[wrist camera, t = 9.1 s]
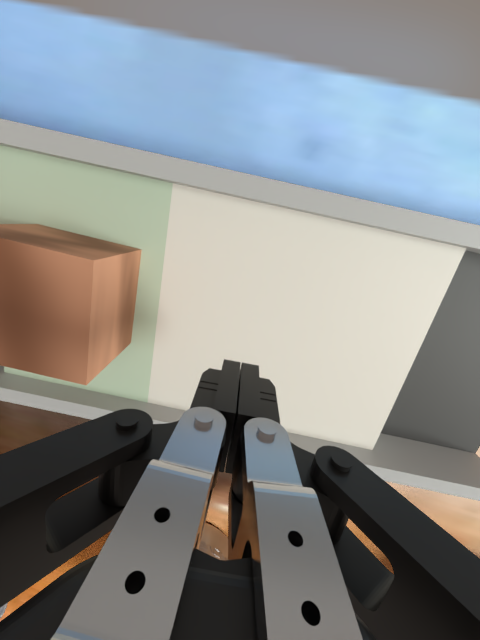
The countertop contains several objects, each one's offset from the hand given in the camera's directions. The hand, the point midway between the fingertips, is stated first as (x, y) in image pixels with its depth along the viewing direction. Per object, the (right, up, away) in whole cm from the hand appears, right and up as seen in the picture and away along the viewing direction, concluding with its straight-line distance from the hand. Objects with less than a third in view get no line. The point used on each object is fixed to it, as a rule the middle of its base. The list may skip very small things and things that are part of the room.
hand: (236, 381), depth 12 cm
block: (-9, +5, +5) cm, 11 cm away
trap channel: (-2, +3, +8) cm, 9 cm away
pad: (-10, +5, +8) cm, 13 cm away
